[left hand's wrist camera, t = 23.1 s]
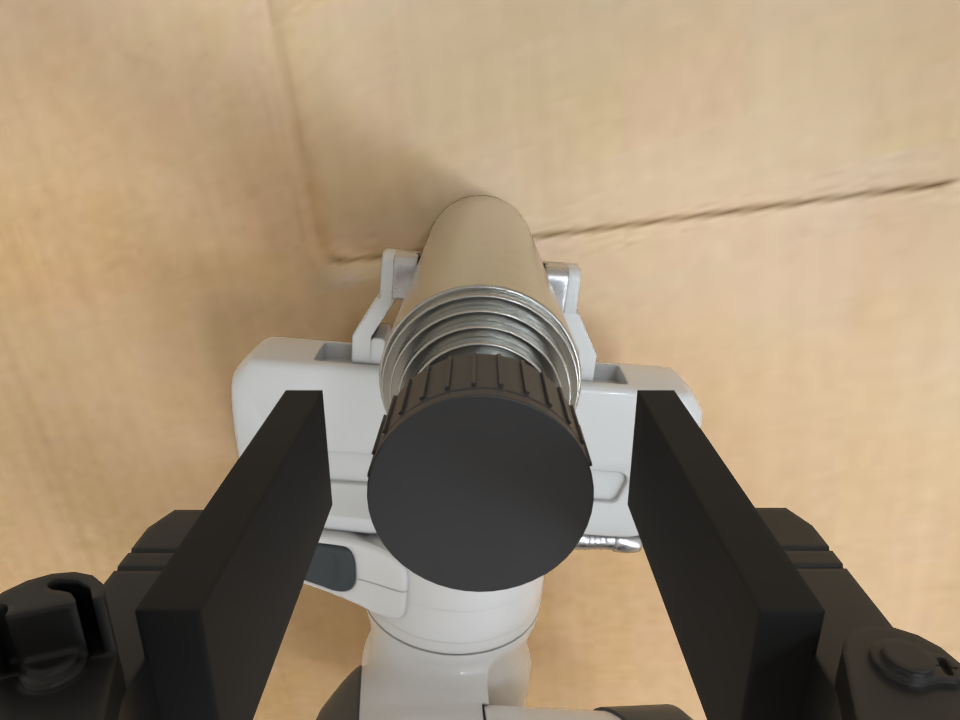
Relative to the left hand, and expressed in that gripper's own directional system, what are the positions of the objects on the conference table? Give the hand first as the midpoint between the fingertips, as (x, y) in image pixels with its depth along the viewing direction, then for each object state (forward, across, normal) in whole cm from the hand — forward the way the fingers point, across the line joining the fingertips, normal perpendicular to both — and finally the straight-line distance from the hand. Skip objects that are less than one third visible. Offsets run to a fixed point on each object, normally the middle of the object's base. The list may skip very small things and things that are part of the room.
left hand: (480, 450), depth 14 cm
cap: (-2, 0, 0) cm, 2 cm away
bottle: (+22, 0, 0) cm, 22 cm away
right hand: (+15, 0, -1) cm, 15 cm away
